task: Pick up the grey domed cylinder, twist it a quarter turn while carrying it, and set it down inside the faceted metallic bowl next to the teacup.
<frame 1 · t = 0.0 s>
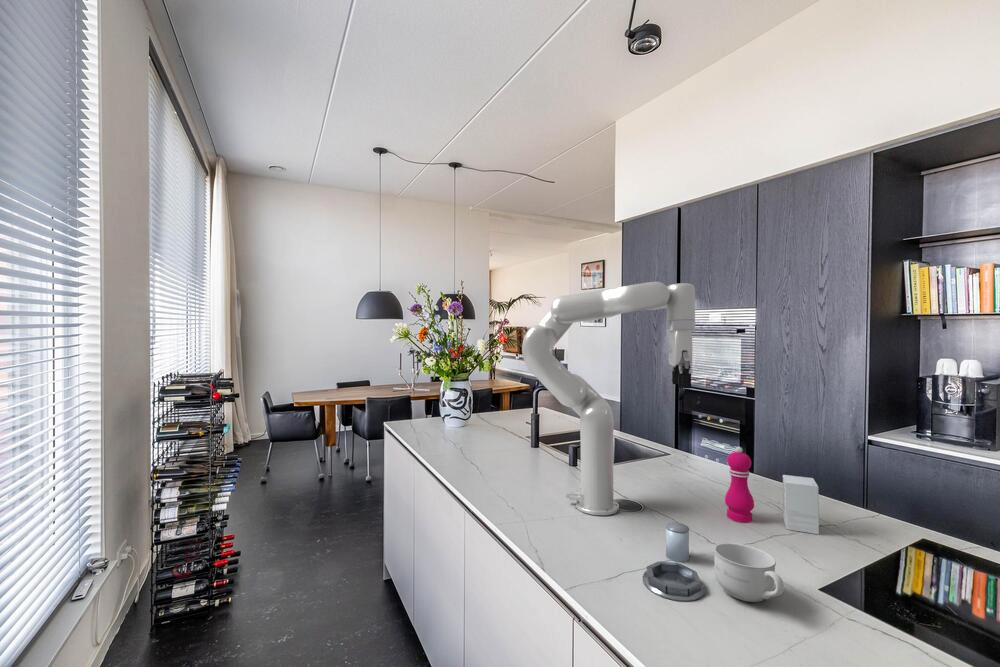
hand: (681, 386, 127), 37 cm above the worktop, tool pointing down, fingers open, 9 cm apart
grey domed cylinder: (677, 556, 102), on the worktop
faceted metallic bowl: (673, 583, 91), on the worktop
teacup: (749, 598, 87), on the worktop
supplement box: (800, 527, 118), on the worktop
pepper mill: (739, 518, 124), on the worktop
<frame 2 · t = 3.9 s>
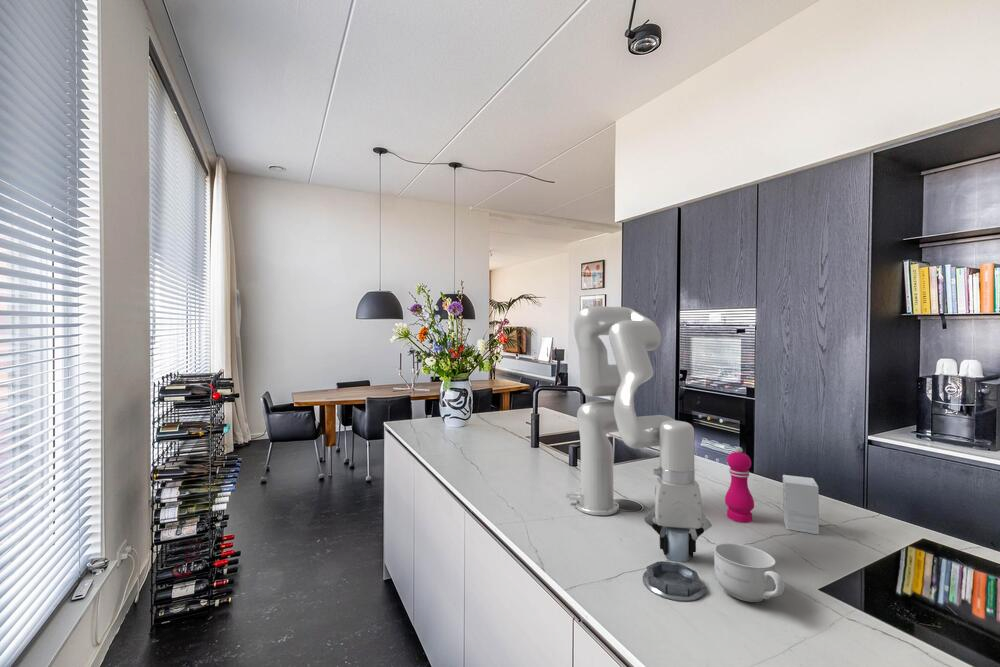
hand: (677, 552, 102), 1 cm above the worktop, tool pointing down, fingers closed on grey domed cylinder, 5 cm apart
grey domed cylinder: (677, 556, 102), on the worktop, touching gripper
everything else where it was.
when the fingers open (3 cm above the worktop, at t = 9.1 s): grey domed cylinder drops 1 cm, resting on faceted metallic bowl.
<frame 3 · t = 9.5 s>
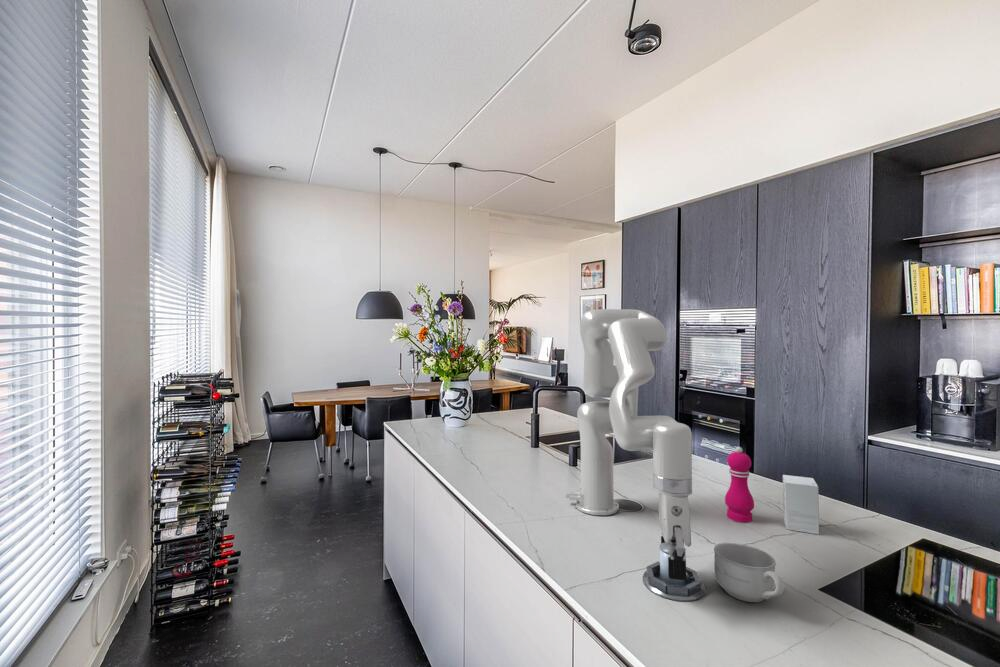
hand: (672, 566, 91), 4 cm above the worktop, tool pointing down, fingers open, 8 cm apart
grey domed cylinder: (672, 581, 92), resting on faceted metallic bowl
everything else where it was.
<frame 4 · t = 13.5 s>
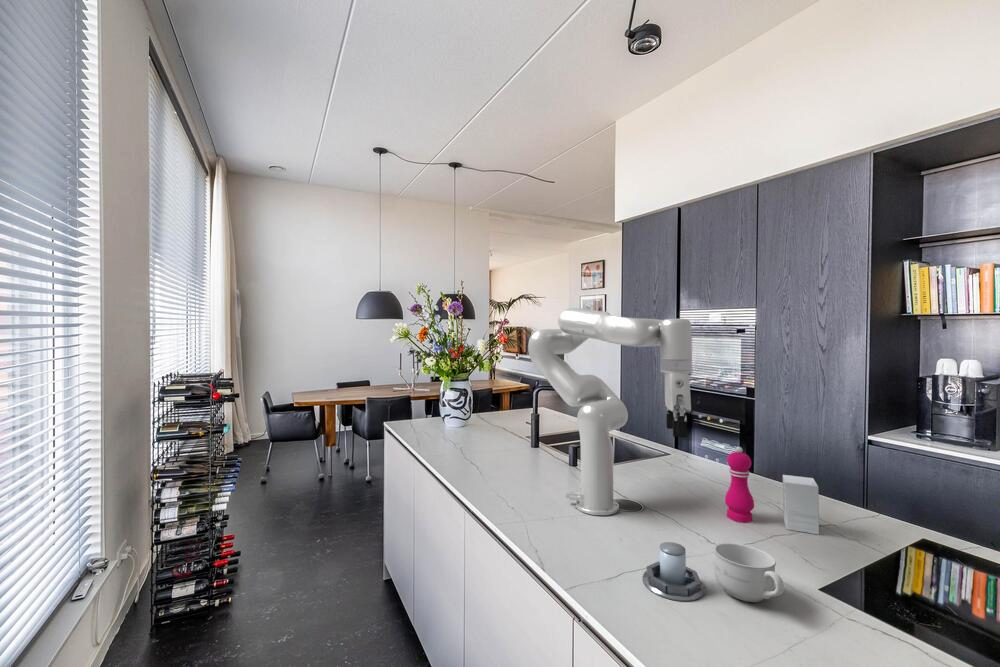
hand: (676, 432, 114), 26 cm above the worktop, tool pointing down, fingers open, 9 cm apart
nothing on the worktop moved.
at the end: grey domed cylinder 0.2 cm off-centre on the faceted metallic bowl, point 0.4 cm above the faceted metallic bowl's base; grey domed cylinder tilted 0°; the gripper is holding nothing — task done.
